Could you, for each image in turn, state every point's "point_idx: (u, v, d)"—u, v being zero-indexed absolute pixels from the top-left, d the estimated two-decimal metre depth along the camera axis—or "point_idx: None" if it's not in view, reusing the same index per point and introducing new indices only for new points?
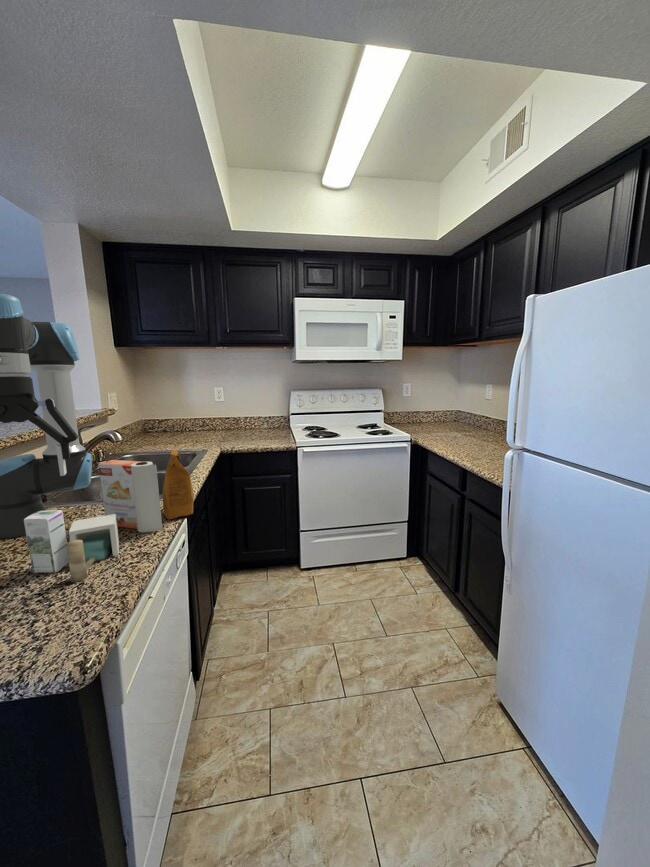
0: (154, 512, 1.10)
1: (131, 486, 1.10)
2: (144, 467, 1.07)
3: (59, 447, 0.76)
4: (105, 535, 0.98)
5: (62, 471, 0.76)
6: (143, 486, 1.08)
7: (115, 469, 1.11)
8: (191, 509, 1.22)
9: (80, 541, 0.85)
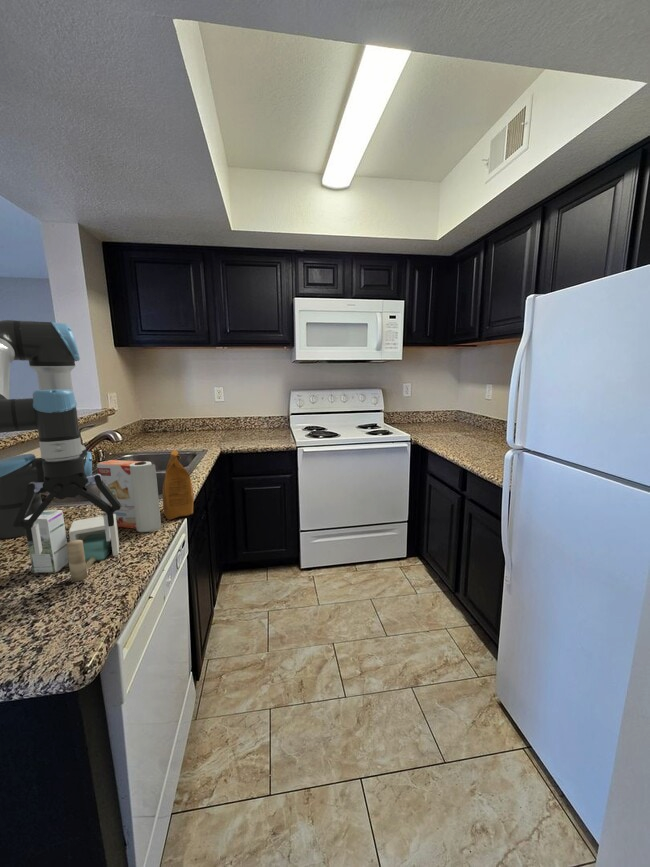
0: (153, 512, 1.11)
1: (130, 485, 1.10)
2: (143, 467, 1.07)
3: (106, 516, 0.85)
4: (105, 535, 0.98)
5: (108, 537, 0.86)
6: (142, 485, 1.08)
7: (113, 469, 1.11)
8: (191, 509, 1.22)
9: (80, 541, 0.85)
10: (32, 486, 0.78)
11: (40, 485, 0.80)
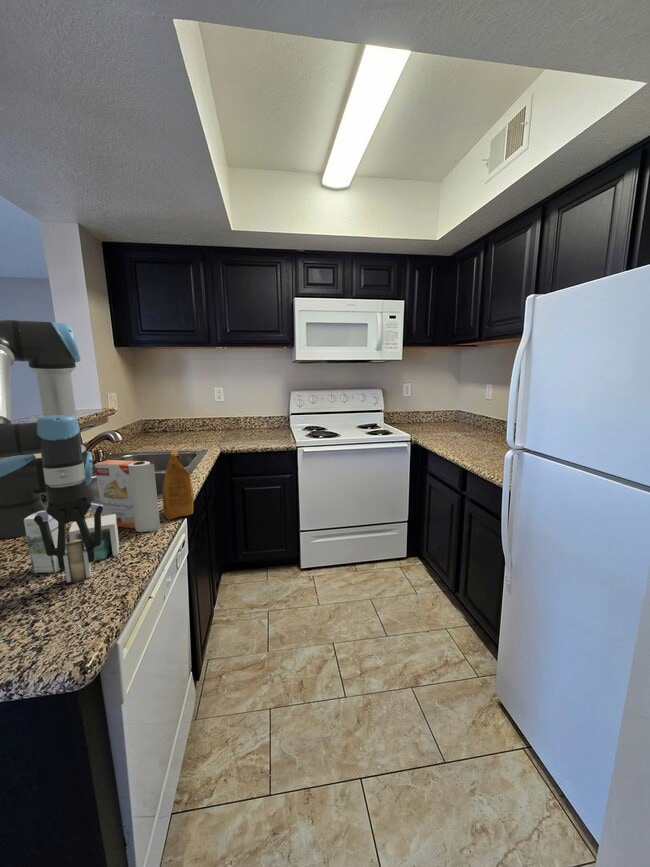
0: (152, 512, 1.11)
1: (128, 485, 1.10)
2: (142, 467, 1.08)
3: (86, 553, 0.85)
4: (106, 535, 0.98)
5: (88, 573, 0.86)
6: (141, 485, 1.08)
7: (112, 469, 1.11)
8: (191, 509, 1.22)
9: (80, 541, 0.85)
10: (38, 518, 0.80)
11: (45, 513, 0.81)
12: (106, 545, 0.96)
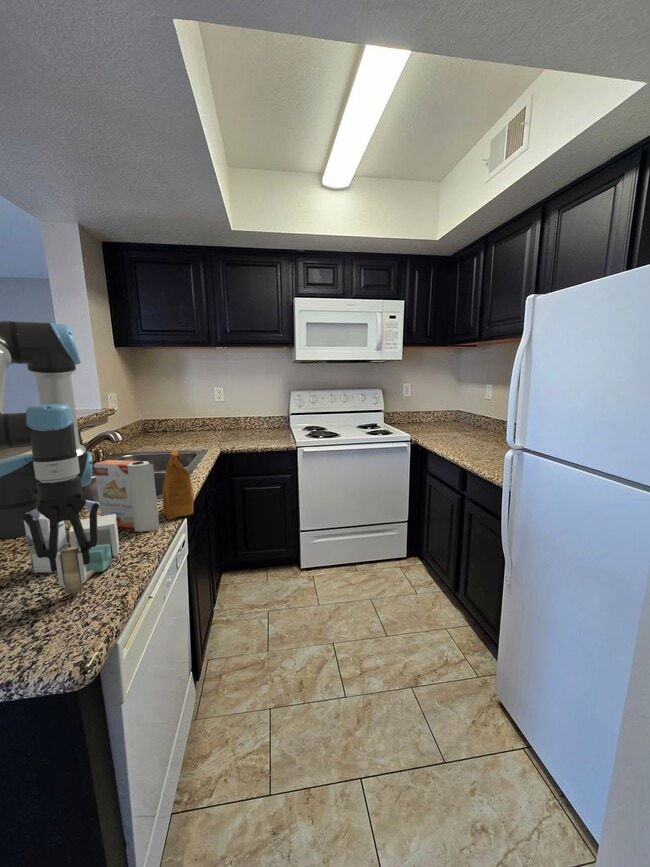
0: (151, 511, 1.11)
1: (127, 485, 1.10)
2: (141, 466, 1.08)
3: (80, 554, 0.78)
4: (106, 545, 0.91)
5: (83, 577, 0.79)
6: (140, 485, 1.09)
7: (111, 469, 1.11)
8: (191, 509, 1.22)
9: (75, 548, 0.79)
10: (28, 516, 0.73)
11: (36, 511, 0.74)
12: (106, 556, 0.89)
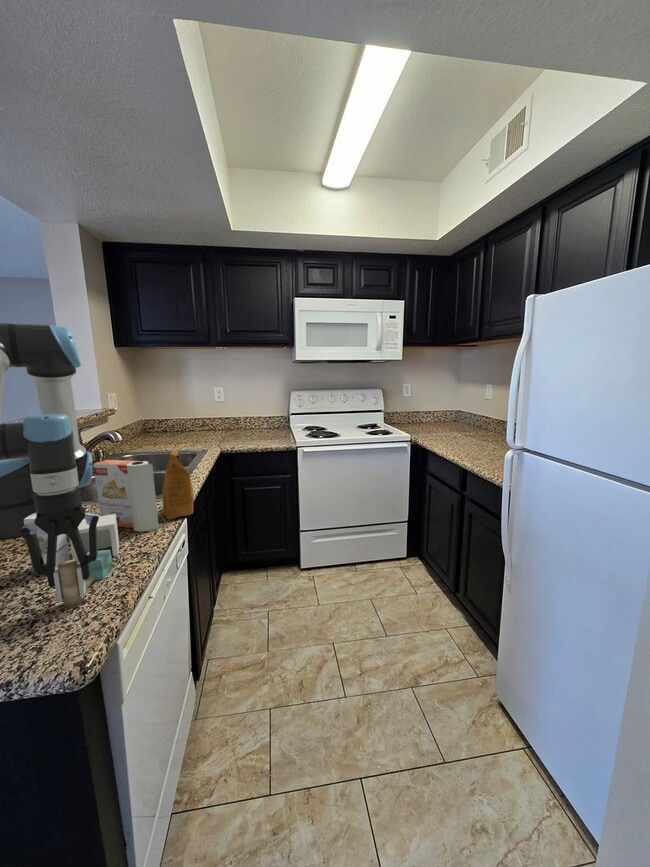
0: (150, 511, 1.11)
1: (127, 485, 1.11)
2: (140, 466, 1.08)
3: (79, 569, 0.75)
4: (106, 552, 0.88)
5: (82, 592, 0.76)
6: (139, 485, 1.09)
7: (110, 469, 1.11)
8: (191, 509, 1.22)
9: (74, 562, 0.76)
10: (25, 530, 0.70)
11: (33, 525, 0.71)
12: (106, 563, 0.87)
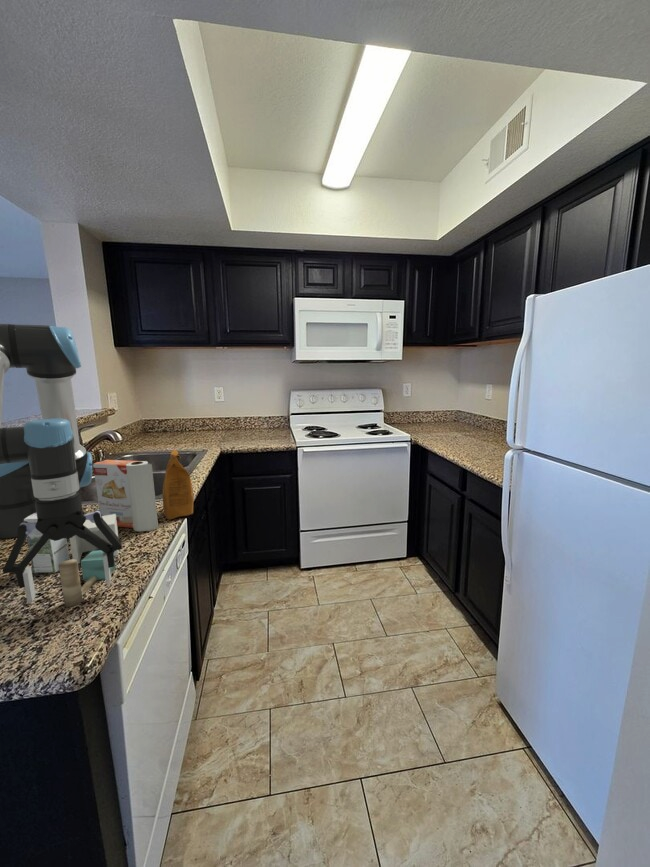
0: (150, 511, 1.11)
1: (126, 485, 1.11)
2: (140, 466, 1.08)
3: (105, 557, 0.78)
4: None
5: (108, 579, 0.78)
6: (139, 485, 1.09)
7: (110, 468, 1.11)
8: (191, 509, 1.22)
9: (74, 561, 0.76)
10: (23, 528, 0.70)
11: (32, 526, 0.71)
12: None
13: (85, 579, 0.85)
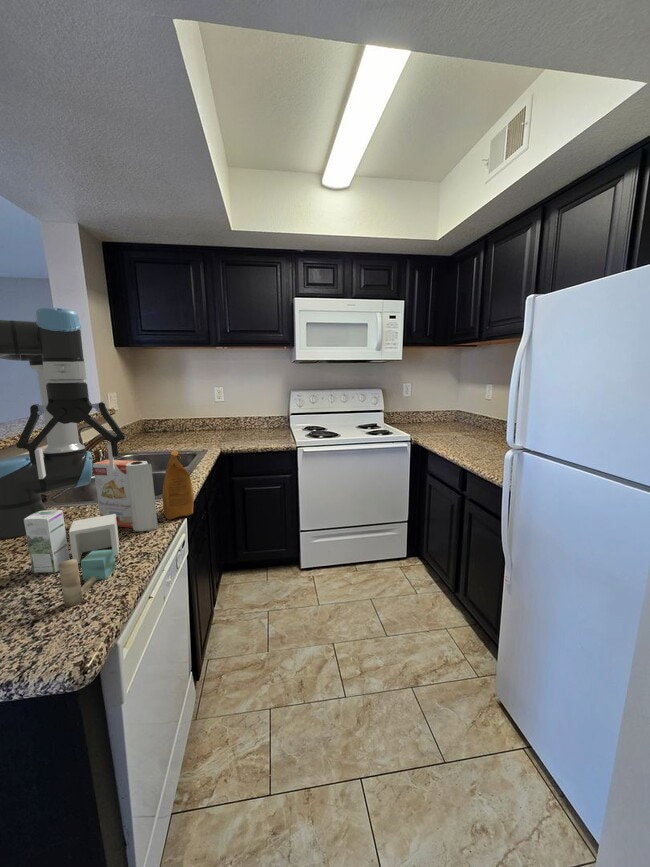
0: (149, 511, 1.11)
1: (126, 485, 1.11)
2: (139, 466, 1.08)
3: (110, 445, 0.84)
4: (109, 551, 0.88)
5: (112, 467, 0.85)
6: (138, 485, 1.09)
7: None
8: (191, 509, 1.22)
9: (74, 561, 0.76)
10: (35, 407, 0.77)
11: (44, 408, 0.78)
12: (108, 563, 0.87)
13: (85, 579, 0.85)
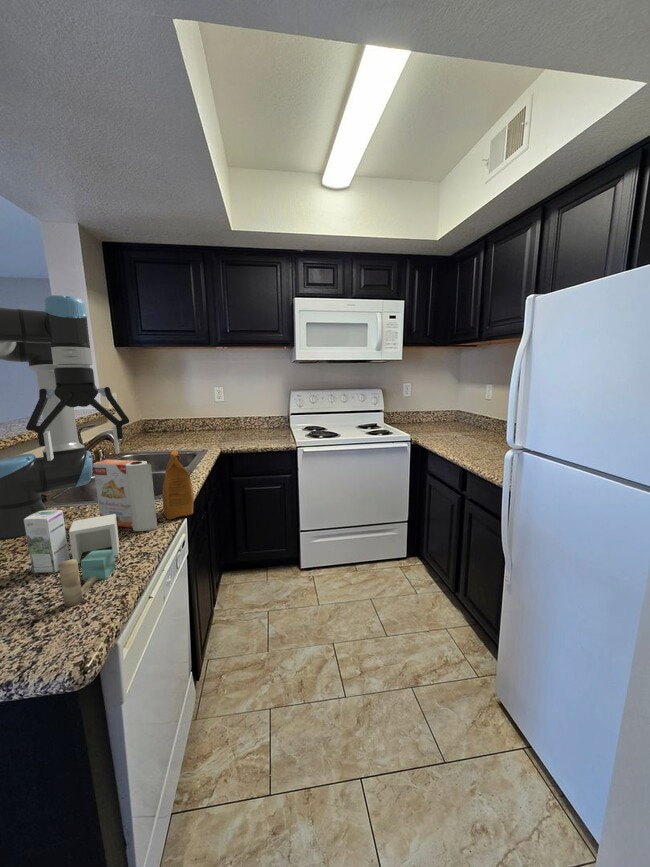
0: (149, 511, 1.11)
1: (125, 485, 1.11)
2: (139, 466, 1.08)
3: (115, 429, 0.88)
4: (109, 551, 0.88)
5: (117, 449, 0.89)
6: (138, 485, 1.09)
7: (109, 468, 1.11)
8: (191, 509, 1.22)
9: (74, 561, 0.76)
10: (44, 391, 0.80)
11: (52, 392, 0.82)
12: (108, 563, 0.87)
13: (85, 579, 0.85)
